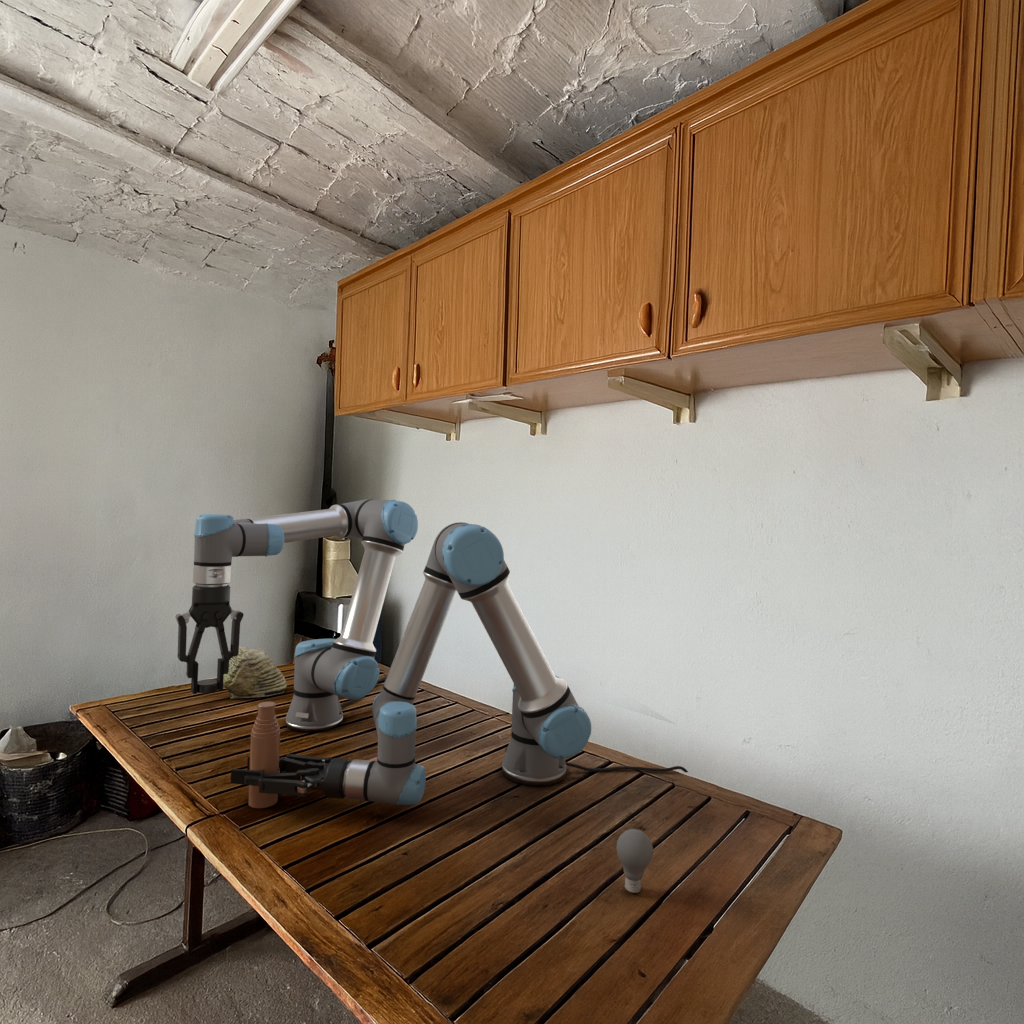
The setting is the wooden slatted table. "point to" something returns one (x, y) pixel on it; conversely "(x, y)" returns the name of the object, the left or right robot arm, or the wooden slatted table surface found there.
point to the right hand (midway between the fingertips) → (240, 769)
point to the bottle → (264, 752)
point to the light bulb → (634, 857)
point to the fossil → (253, 675)
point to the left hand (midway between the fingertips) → (206, 690)
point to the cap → (207, 686)
